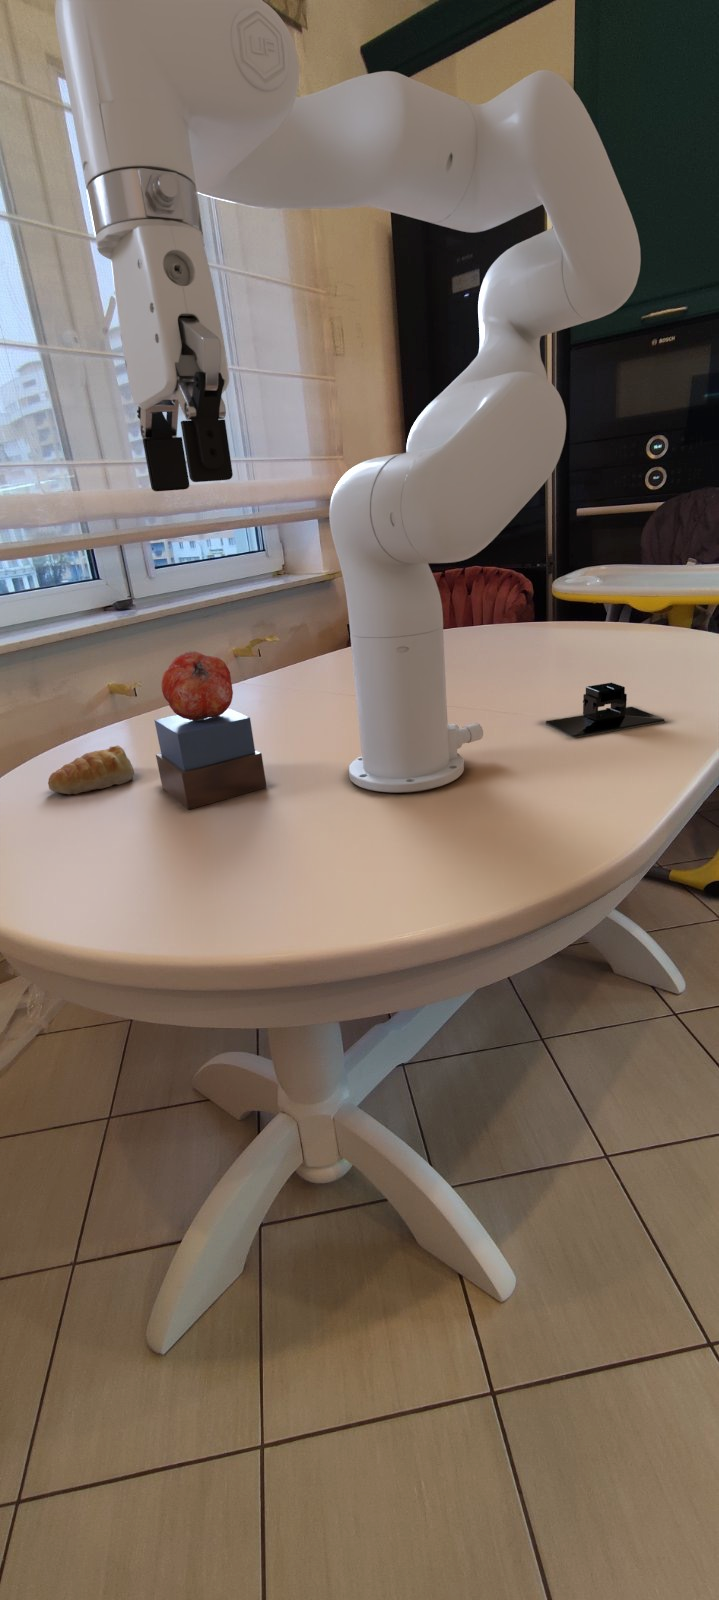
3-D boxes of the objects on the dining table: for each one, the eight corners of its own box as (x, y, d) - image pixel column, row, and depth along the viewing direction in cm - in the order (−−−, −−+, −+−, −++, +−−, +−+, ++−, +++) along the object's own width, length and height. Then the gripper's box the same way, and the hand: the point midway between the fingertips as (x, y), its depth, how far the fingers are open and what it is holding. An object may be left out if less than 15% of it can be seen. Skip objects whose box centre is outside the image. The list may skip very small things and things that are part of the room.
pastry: (60, 803, 81) (52, 770, 79) (43, 789, 86) (34, 759, 84) (140, 779, 86) (133, 748, 85) (119, 767, 91) (112, 739, 90)
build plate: (573, 739, 86) (574, 700, 84) (543, 724, 92) (543, 688, 91) (665, 721, 88) (667, 684, 86) (629, 708, 95) (631, 673, 93)
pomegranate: (167, 737, 81) (154, 699, 71) (168, 677, 83) (155, 633, 73) (235, 735, 82) (230, 699, 72) (234, 676, 84) (229, 633, 74)
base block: (235, 768, 87) (229, 736, 85) (266, 787, 80) (261, 753, 78) (162, 787, 83) (155, 754, 81) (188, 809, 75) (181, 773, 74)
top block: (227, 738, 85) (222, 704, 83) (255, 753, 78) (250, 717, 77) (161, 754, 81) (154, 719, 79) (184, 771, 75) (177, 734, 73)
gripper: (244, 179, 46) (279, 473, 52) (162, 266, 60) (198, 490, 66) (126, 163, 43) (179, 479, 49) (69, 260, 57) (116, 496, 63)
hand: (190, 485), depth 58 cm, fingers open, 9 cm apart
